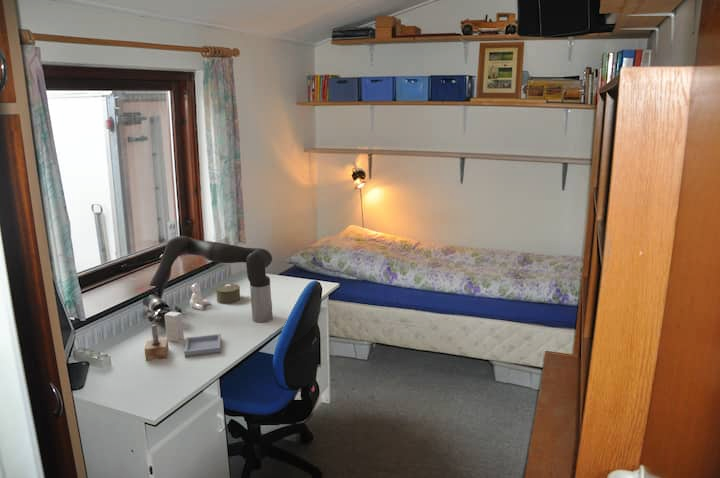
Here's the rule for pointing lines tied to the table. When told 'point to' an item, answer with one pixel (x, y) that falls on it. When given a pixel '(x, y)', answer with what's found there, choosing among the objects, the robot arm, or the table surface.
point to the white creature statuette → (197, 298)
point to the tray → (203, 345)
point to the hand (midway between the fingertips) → (168, 318)
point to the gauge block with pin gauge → (156, 347)
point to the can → (228, 293)
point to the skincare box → (174, 326)
